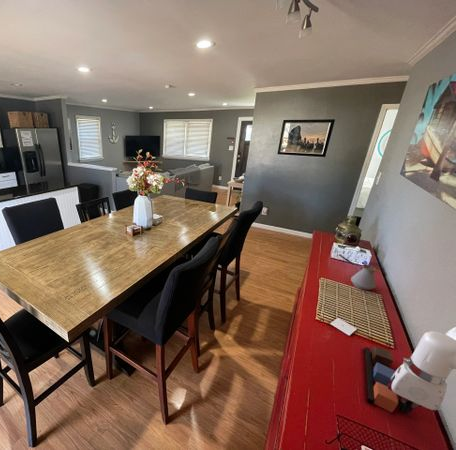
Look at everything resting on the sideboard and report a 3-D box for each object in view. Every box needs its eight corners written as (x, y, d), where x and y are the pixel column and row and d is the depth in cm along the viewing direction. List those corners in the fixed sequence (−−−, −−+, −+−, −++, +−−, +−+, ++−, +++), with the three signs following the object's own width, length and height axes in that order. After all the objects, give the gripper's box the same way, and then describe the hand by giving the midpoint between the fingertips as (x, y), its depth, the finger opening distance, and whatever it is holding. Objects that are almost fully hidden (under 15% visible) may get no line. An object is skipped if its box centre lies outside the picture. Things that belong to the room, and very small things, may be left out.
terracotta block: (390, 400, 81) (396, 390, 79) (392, 413, 78) (398, 403, 76) (371, 390, 84) (376, 381, 82) (372, 402, 80) (377, 393, 79)
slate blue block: (389, 379, 88) (395, 370, 86) (389, 390, 84) (395, 380, 83) (371, 371, 91) (377, 362, 89) (371, 380, 87) (376, 371, 86)
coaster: (357, 328, 110) (357, 327, 110) (349, 335, 106) (349, 334, 106) (338, 317, 117) (338, 316, 116) (329, 323, 113) (330, 322, 112)
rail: (368, 352, 99) (370, 348, 98) (372, 405, 80) (374, 401, 79) (363, 350, 100) (365, 346, 99) (366, 402, 80) (369, 398, 80)
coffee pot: (375, 286, 141) (385, 265, 135) (372, 294, 134) (382, 272, 128) (333, 271, 155) (340, 250, 150) (328, 277, 148) (335, 256, 142)
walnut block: (385, 360, 96) (390, 351, 94) (388, 370, 92) (393, 360, 90) (369, 354, 98) (374, 345, 96) (371, 363, 94) (376, 354, 92)
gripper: (394, 365, 72) (373, 404, 79) (469, 396, 64) (438, 436, 71) (390, 348, 78) (371, 386, 85) (459, 375, 70) (432, 414, 76)
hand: (402, 409), depth 78 cm, fingers closed
